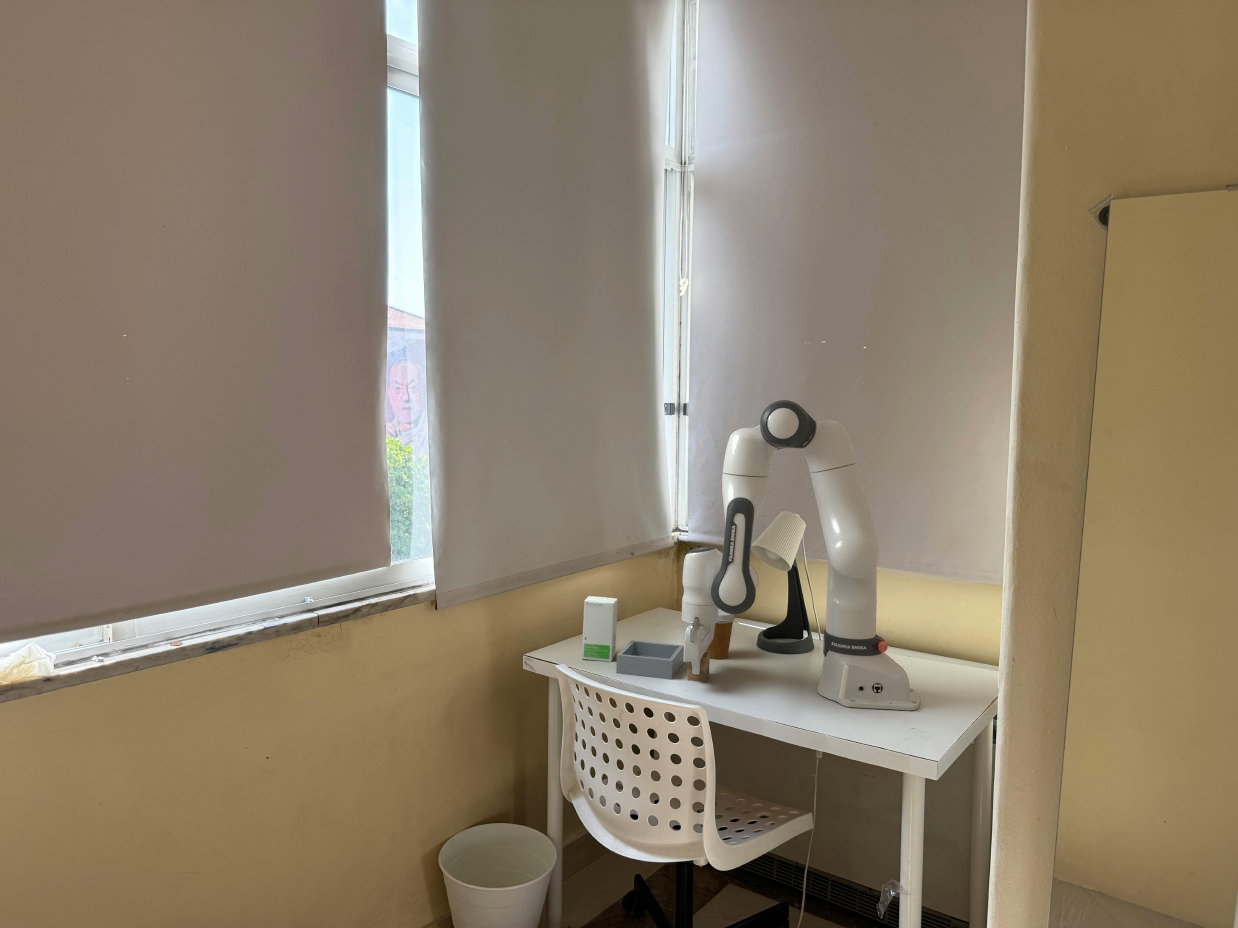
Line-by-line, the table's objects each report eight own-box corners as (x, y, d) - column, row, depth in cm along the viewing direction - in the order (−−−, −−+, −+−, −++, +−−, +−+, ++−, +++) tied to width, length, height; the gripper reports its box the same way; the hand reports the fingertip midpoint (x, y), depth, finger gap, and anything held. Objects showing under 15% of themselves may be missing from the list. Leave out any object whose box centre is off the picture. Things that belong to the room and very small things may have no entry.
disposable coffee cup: (718, 648, 210) (719, 605, 210) (741, 657, 202) (742, 613, 201) (690, 653, 205) (692, 609, 204) (713, 663, 197) (714, 617, 196)
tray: (683, 662, 197) (683, 645, 197) (671, 679, 183) (672, 660, 183) (631, 656, 201) (631, 640, 201) (616, 672, 187) (616, 654, 187)
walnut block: (709, 676, 186) (709, 652, 186) (705, 682, 182) (706, 657, 182) (691, 674, 187) (691, 650, 187) (687, 680, 183) (688, 655, 183)
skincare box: (581, 659, 198) (582, 600, 197) (586, 652, 204) (587, 595, 203) (612, 661, 196) (614, 602, 196) (617, 654, 203) (618, 596, 202)
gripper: (705, 624, 173) (703, 684, 174) (719, 605, 193) (718, 659, 193) (678, 622, 175) (676, 681, 175) (695, 603, 194) (693, 656, 195)
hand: (698, 669), depth 185 cm, fingers closed on walnut block, 4 cm apart
